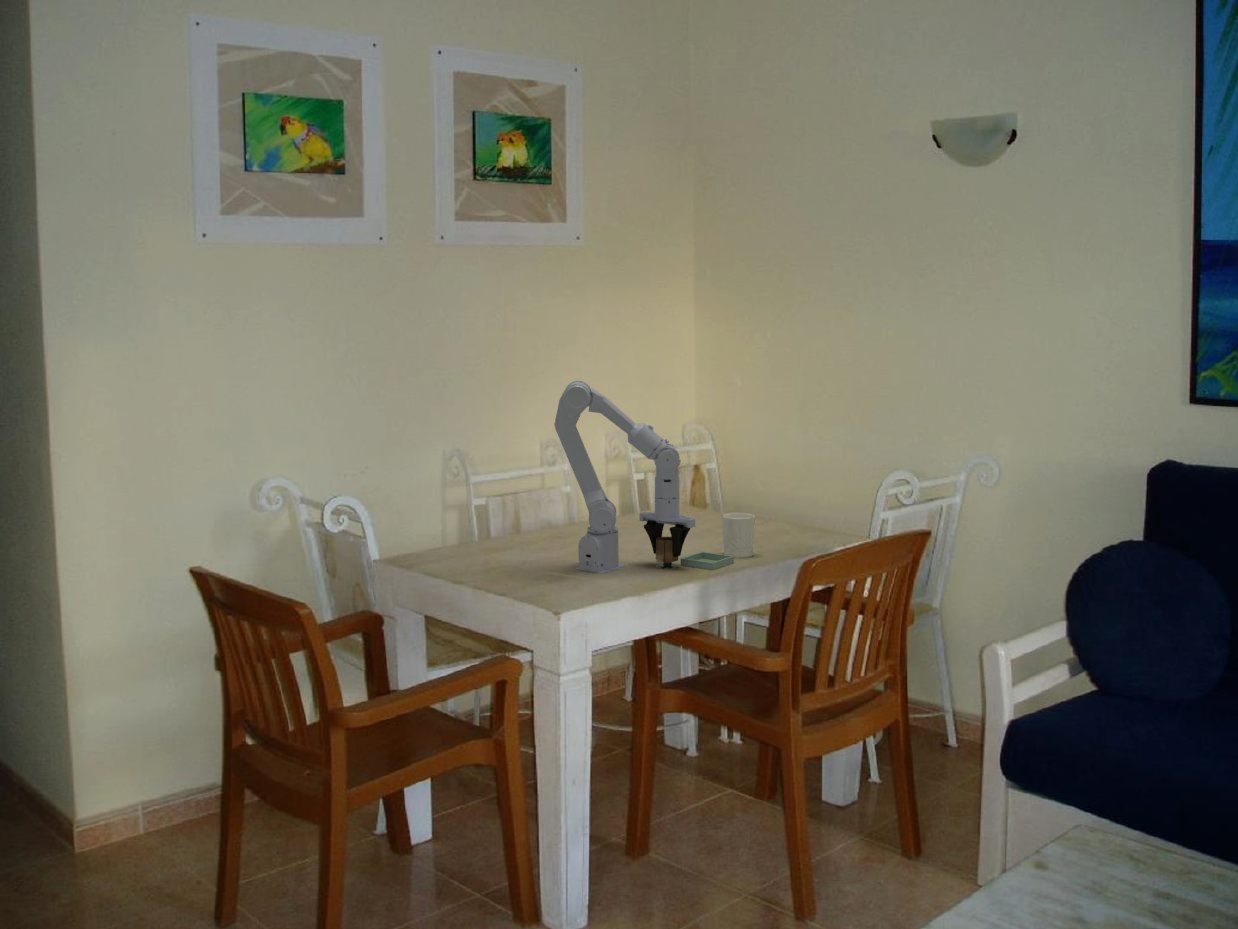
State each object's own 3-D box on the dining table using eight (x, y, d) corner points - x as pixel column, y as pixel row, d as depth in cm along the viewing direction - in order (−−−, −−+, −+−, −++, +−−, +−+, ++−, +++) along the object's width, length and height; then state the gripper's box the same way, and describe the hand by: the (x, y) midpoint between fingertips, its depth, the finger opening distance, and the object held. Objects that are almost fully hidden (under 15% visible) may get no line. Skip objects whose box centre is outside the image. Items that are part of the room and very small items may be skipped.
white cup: (760, 554, 313) (760, 514, 311) (746, 561, 306) (746, 519, 305) (730, 551, 317) (730, 511, 315) (716, 557, 310) (716, 517, 309)
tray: (712, 571, 295) (712, 563, 295) (680, 566, 301) (680, 558, 300) (733, 564, 302) (733, 556, 302) (701, 559, 308) (701, 551, 307)
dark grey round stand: (670, 571, 296) (670, 559, 296) (650, 568, 299) (650, 556, 299) (684, 567, 300) (684, 554, 300) (664, 564, 304) (664, 552, 303)
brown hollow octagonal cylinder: (664, 556, 303) (664, 535, 302) (681, 559, 300) (681, 538, 299) (649, 561, 298) (649, 540, 298) (667, 563, 295) (667, 542, 295)
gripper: (702, 497, 296) (702, 555, 298) (651, 491, 305) (651, 547, 307) (685, 502, 291) (685, 560, 293) (634, 495, 299) (634, 552, 301)
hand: (667, 554), depth 299 cm, fingers closed on brown hollow octagonal cylinder, 5 cm apart
